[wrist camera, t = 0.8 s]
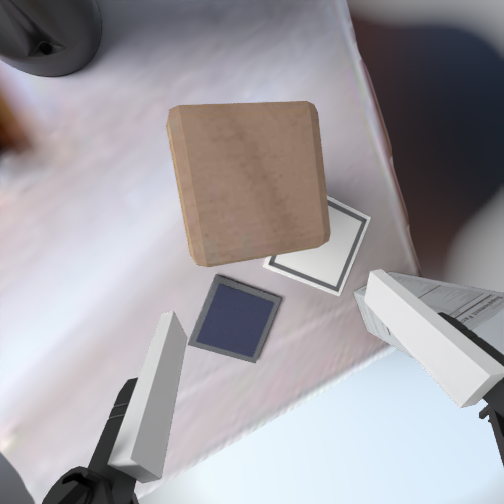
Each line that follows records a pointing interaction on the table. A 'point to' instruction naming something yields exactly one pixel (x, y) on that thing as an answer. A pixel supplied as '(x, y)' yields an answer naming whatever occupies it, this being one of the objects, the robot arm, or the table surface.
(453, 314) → the supplement box
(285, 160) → the wooden block
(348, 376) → the table surface
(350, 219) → the mat
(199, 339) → the ink pad
